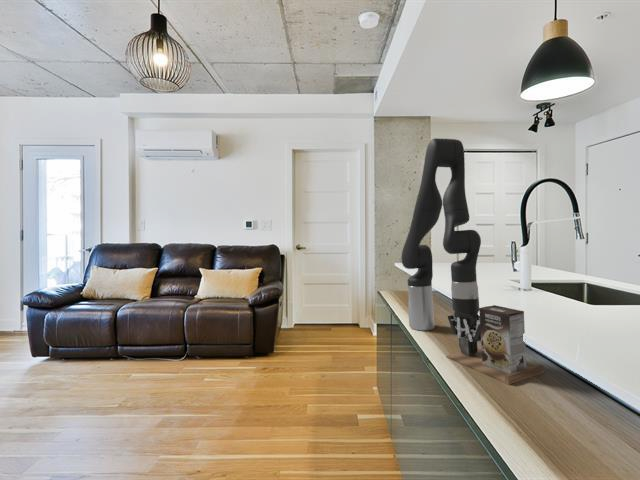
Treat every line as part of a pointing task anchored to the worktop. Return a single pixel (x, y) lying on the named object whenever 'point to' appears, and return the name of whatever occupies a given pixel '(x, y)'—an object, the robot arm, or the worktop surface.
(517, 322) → the brown boxy piece
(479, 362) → the brown wooden flat block
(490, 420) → the worktop surface
